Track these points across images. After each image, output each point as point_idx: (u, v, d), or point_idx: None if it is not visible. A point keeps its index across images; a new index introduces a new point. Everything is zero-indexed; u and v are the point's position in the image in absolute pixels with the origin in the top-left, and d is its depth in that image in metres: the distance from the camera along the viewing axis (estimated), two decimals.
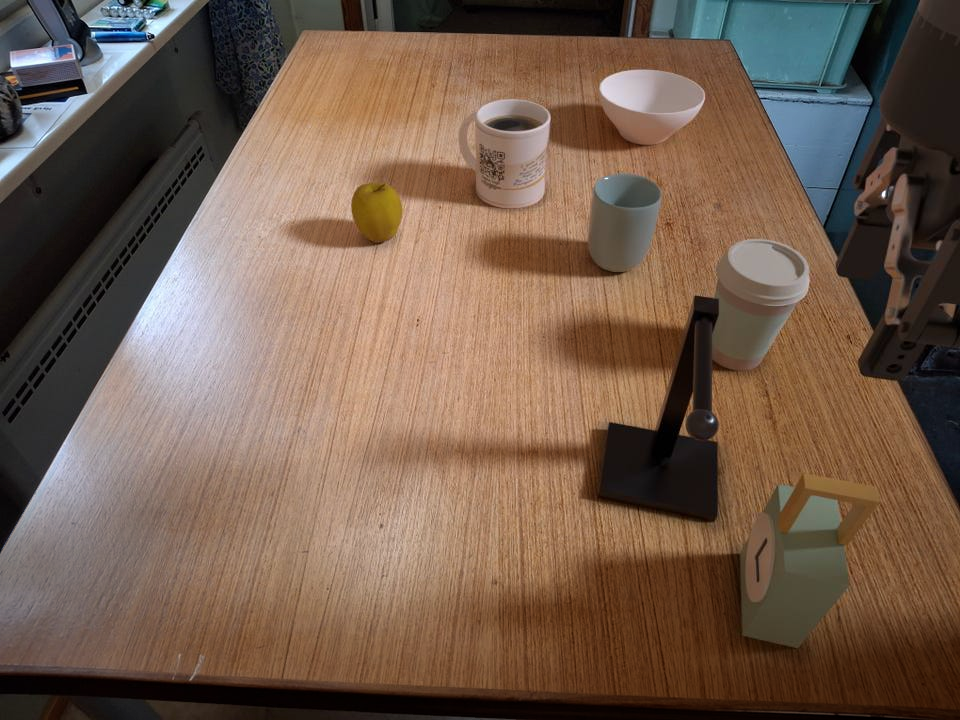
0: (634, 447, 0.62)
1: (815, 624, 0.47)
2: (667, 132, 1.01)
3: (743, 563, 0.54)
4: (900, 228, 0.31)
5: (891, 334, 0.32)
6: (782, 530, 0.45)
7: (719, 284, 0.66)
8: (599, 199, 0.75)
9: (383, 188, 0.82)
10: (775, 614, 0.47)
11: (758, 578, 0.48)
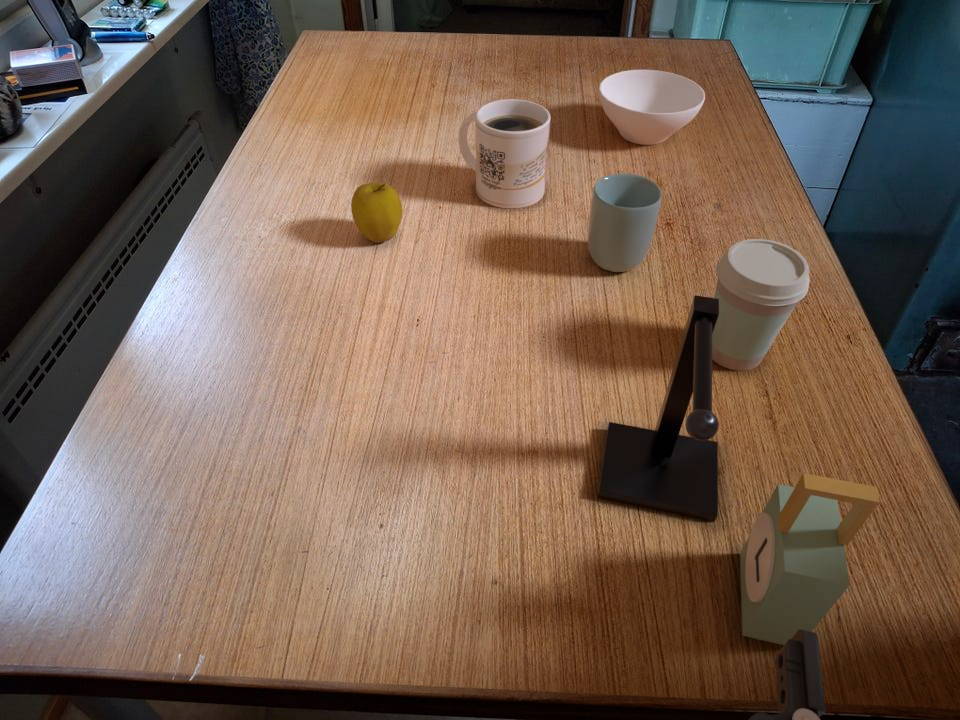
0: (634, 447, 0.62)
1: (815, 624, 0.47)
2: (667, 132, 1.01)
3: (743, 563, 0.54)
4: None
5: None
6: (782, 530, 0.45)
7: (719, 284, 0.66)
8: (599, 199, 0.75)
9: (383, 188, 0.82)
10: (775, 614, 0.47)
11: (758, 578, 0.48)
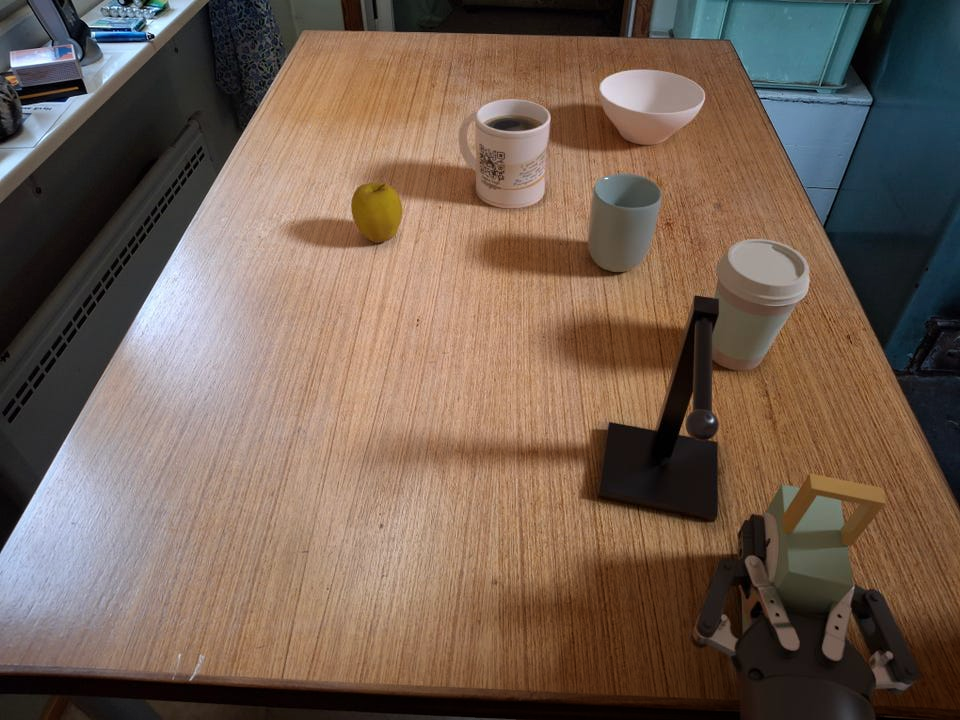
0: (634, 447, 0.62)
1: None
2: (667, 132, 1.01)
3: None
4: None
5: None
6: (786, 530, 0.45)
7: (719, 284, 0.66)
8: (599, 199, 0.75)
9: (383, 188, 0.82)
10: None
11: None
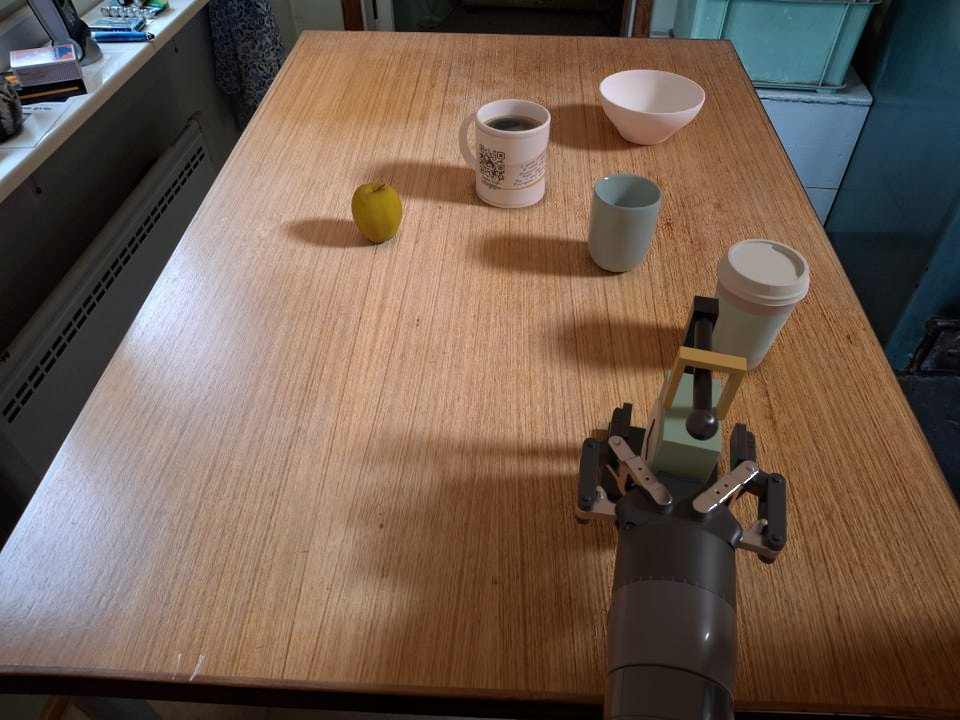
0: (634, 447, 0.62)
1: None
2: (667, 132, 1.01)
3: None
4: None
5: None
6: (665, 406, 0.48)
7: (719, 284, 0.66)
8: (599, 199, 0.75)
9: (383, 188, 0.82)
10: None
11: (646, 456, 0.51)
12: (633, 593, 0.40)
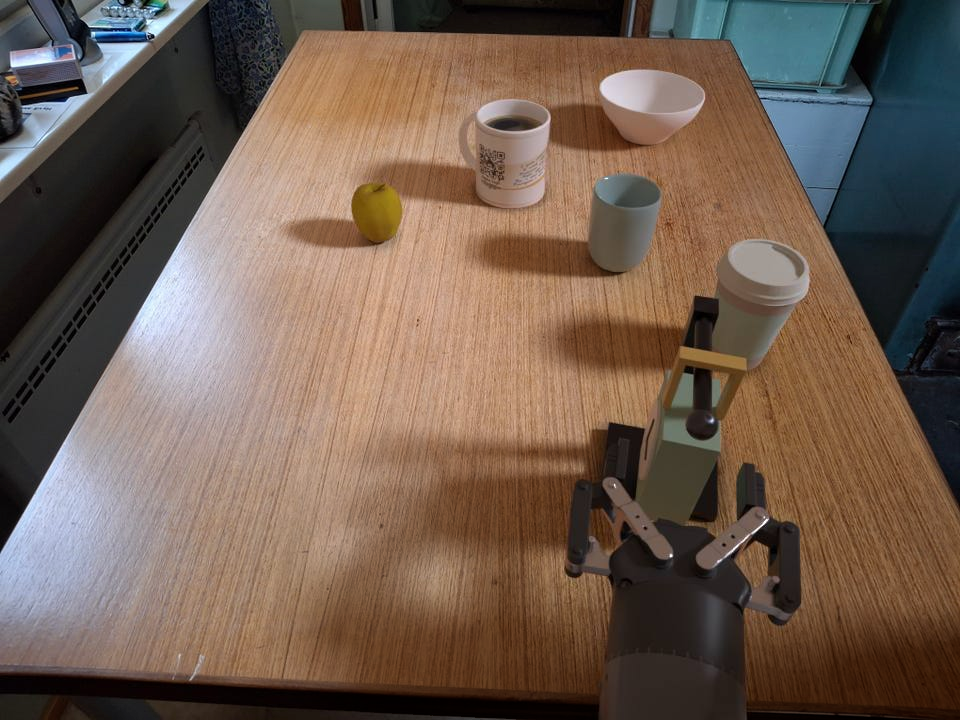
0: (634, 447, 0.62)
1: (696, 499, 0.50)
2: (667, 132, 1.01)
3: None
4: None
5: None
6: (664, 406, 0.48)
7: (719, 284, 0.66)
8: (599, 199, 0.75)
9: (383, 188, 0.82)
10: (659, 489, 0.51)
11: (645, 456, 0.51)
12: (628, 667, 0.35)
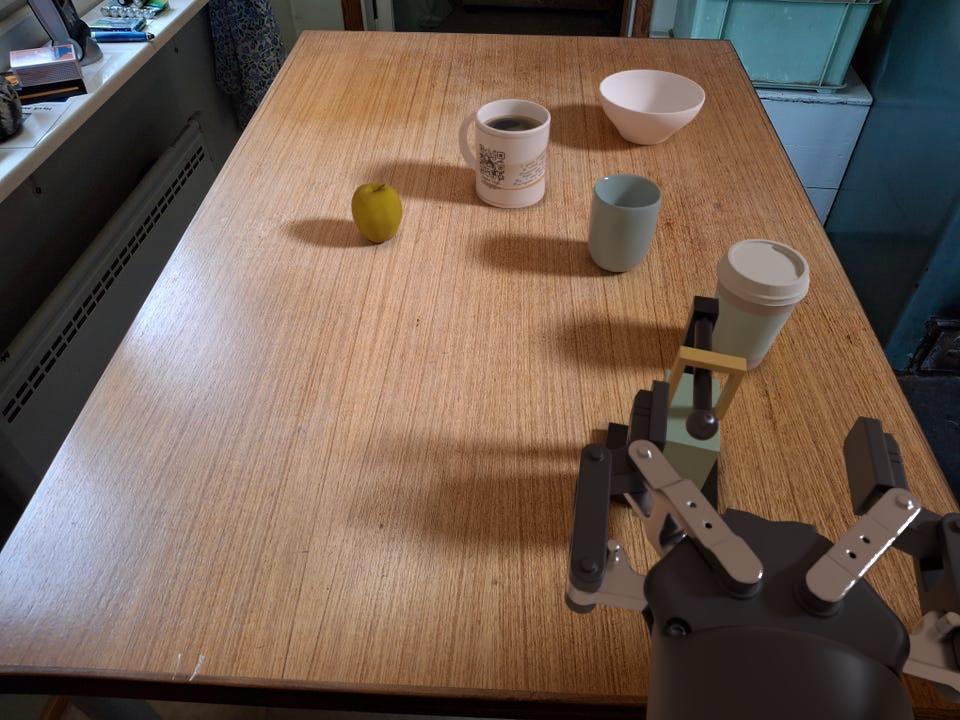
0: None
1: None
2: (667, 132, 1.01)
3: None
4: None
5: None
6: None
7: (719, 284, 0.66)
8: (599, 199, 0.75)
9: (383, 188, 0.82)
10: None
11: None
12: None
